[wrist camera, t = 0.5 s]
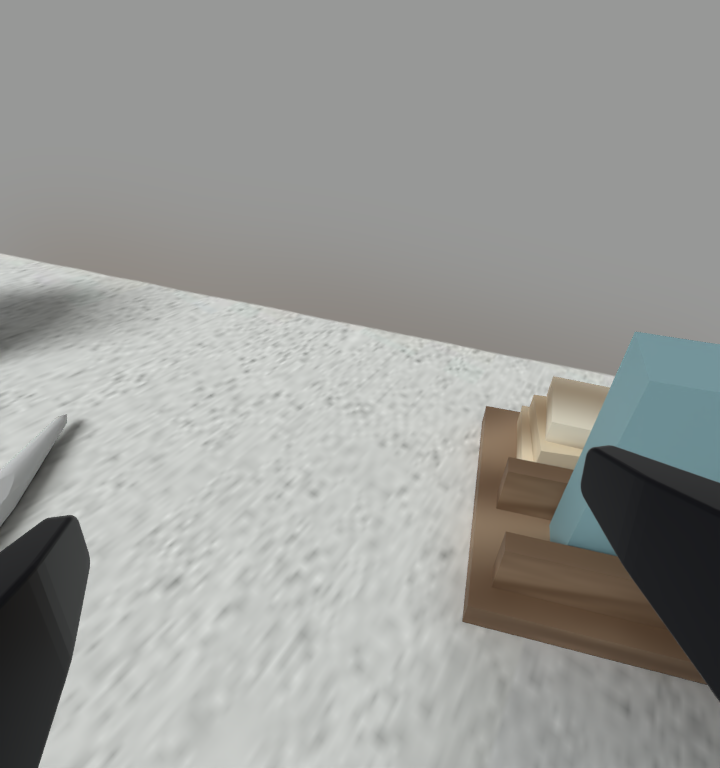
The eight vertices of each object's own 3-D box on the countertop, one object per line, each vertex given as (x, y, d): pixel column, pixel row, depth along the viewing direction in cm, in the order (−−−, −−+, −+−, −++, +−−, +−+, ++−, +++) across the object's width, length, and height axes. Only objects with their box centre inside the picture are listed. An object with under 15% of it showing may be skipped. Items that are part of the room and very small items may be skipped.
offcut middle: (711, 495, 27) (724, 478, 26) (534, 468, 28) (541, 450, 27) (684, 434, 30) (695, 416, 29) (528, 412, 31) (533, 394, 30)
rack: (794, 707, 22) (864, 661, 19) (462, 621, 24) (479, 570, 21) (707, 465, 32) (743, 412, 29) (482, 422, 35) (495, 370, 32)
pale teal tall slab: (699, 611, 23) (877, 418, 16) (551, 576, 24) (649, 380, 17) (684, 554, 25) (833, 361, 18) (549, 524, 27) (635, 331, 19)
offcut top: (709, 478, 26) (722, 459, 25) (544, 440, 27) (552, 421, 26) (694, 425, 29) (705, 406, 28) (546, 394, 30) (553, 376, 29)
